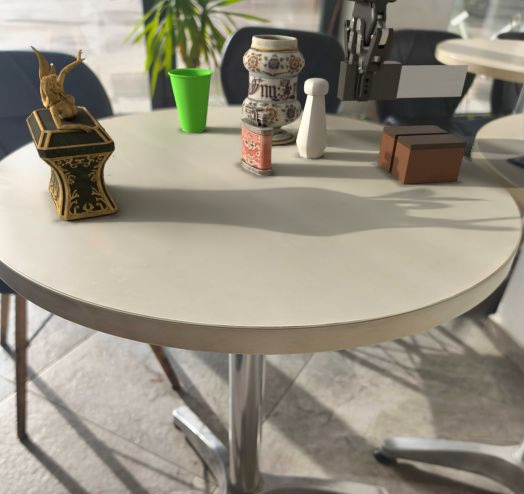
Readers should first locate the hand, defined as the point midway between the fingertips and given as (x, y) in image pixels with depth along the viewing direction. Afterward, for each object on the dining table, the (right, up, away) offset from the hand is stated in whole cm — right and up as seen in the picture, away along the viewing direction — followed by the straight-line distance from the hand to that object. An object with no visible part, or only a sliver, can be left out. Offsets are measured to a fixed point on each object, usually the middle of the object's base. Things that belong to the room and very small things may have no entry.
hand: (357, 98), depth 78 cm
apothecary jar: (-13, +4, +25) cm, 29 cm away
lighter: (-16, -8, +10) cm, 21 cm away
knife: (+7, +1, +1) cm, 7 cm away
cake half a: (+13, -10, +8) cm, 18 cm away
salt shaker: (-6, -3, +17) cm, 18 cm away
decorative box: (-43, -17, -2) cm, 46 cm away
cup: (-30, +8, +29) cm, 43 cm away
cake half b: (+12, -6, +13) cm, 18 cm away
